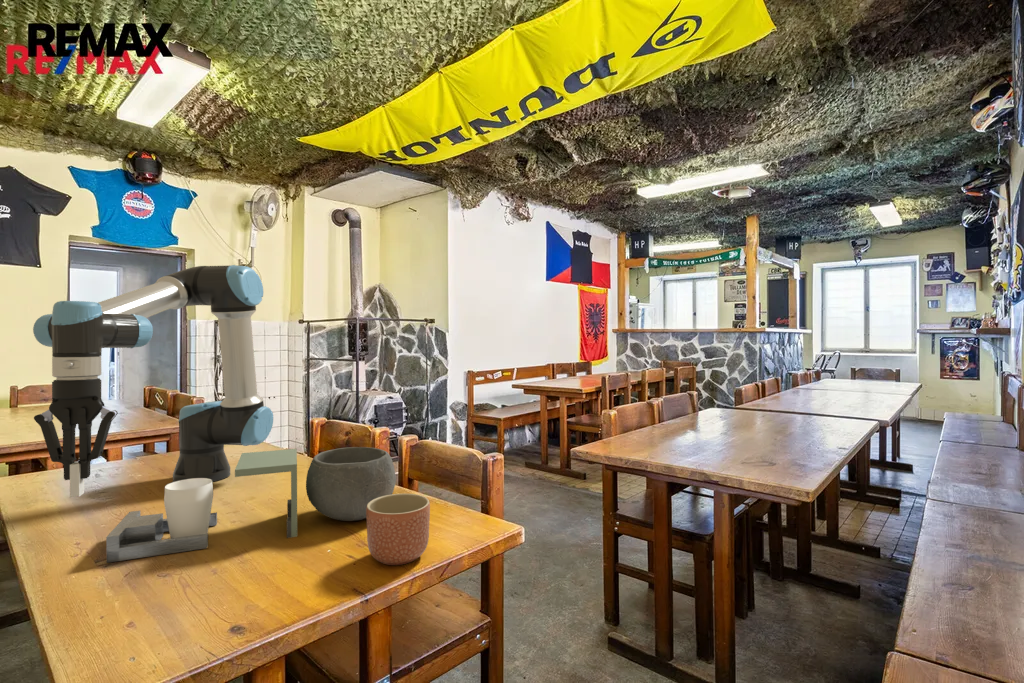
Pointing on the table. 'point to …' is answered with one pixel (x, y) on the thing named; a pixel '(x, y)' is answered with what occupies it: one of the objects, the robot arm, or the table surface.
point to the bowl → (349, 481)
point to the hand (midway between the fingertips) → (77, 495)
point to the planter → (398, 527)
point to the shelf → (274, 464)
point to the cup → (188, 506)
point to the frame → (149, 538)
